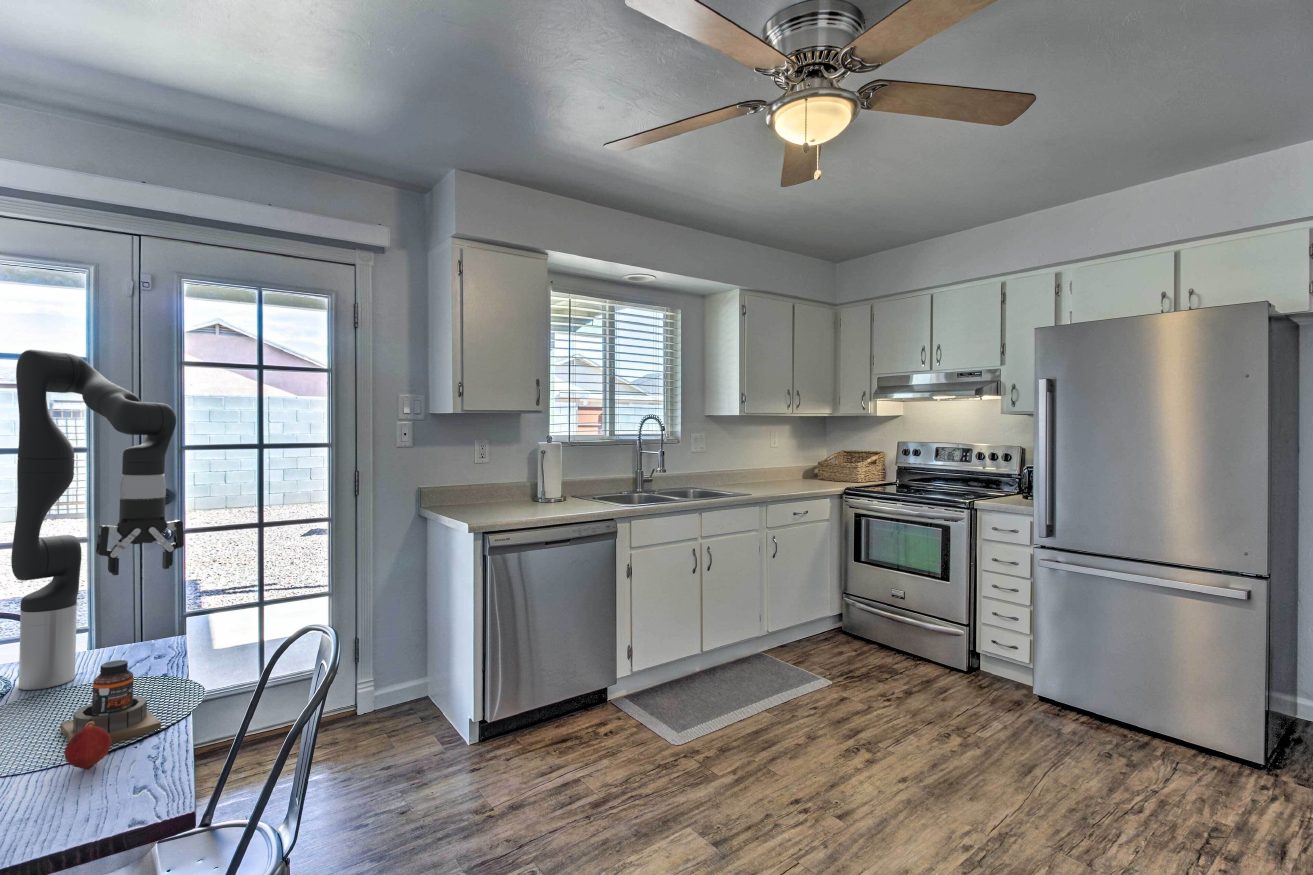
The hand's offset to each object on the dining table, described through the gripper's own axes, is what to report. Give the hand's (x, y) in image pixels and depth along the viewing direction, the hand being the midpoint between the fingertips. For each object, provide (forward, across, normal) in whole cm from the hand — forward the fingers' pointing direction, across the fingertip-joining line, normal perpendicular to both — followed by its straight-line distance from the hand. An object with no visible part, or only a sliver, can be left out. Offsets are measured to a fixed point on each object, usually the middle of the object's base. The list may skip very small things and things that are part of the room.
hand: (140, 571), depth 133 cm
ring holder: (+28, +7, +12) cm, 31 cm away
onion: (+28, +13, +27) cm, 41 cm away
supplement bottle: (+26, +6, +12) cm, 30 cm away
